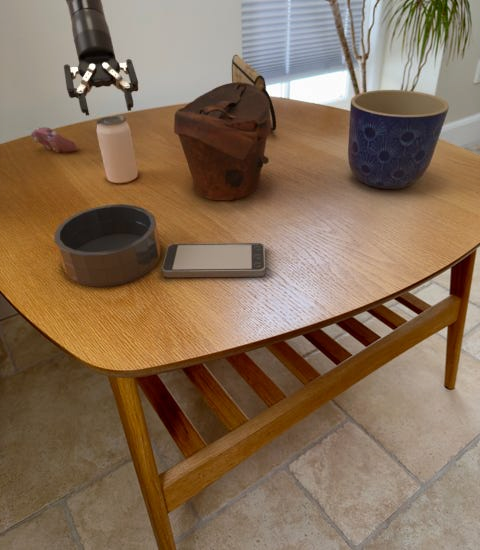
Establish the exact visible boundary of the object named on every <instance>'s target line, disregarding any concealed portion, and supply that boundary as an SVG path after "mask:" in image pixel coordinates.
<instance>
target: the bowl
mask: <svg viewBox="0 0 480 550" xmlns="http://www.w3.org/2000/svg"><path fill="white" fill-rule="evenodd" d="M53 241H54V244H55V247H56V250H57V253H58V256H59V259H60V262H61V265H62V268H63V270H64V273H65V274H66V276H67V277H68V278H69V279H70V280H71V281H73V282H75V283H77V284H79V285H82V286H87V287H94V288H104V287H106V288H107V287H114V286H119V285H124V284H126V283H130V282H133V281H135V280H137V279H139V278H141V277H144V276H145V275H146V274H147V273H149V272H150V271H151V270H152V269H154V268H155V267H156V265H157V264H158V262H159V260H160V258H161V250H162V249H161V243H160V238H159V231H158V225H157V220H156V218H155V215H153V214H152V213H151V212H150V211H149V210H148V209H146V208H144V207H141V206H138V205H131V204H124V203H122V204H121V203H120V204H119V203H118V204H105V205H101V206H93V207H91V208H88V209H85V210H81V211H79V212H77V213H75V214H73V215H71V216H68V218H66V219H65V220H64V221H62V222H61V223H59V225H58V227H57V229H56V230H55V231H54V237H53Z"/></svg>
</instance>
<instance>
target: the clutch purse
mask: <svg viewBox="0 0 480 550" xmlns="http://www.w3.org/2000/svg"><path fill="white" fill-rule="evenodd" d="M236 82H242V83H248V84H251V85H253V86H255V87H257V88H259V89H260V90H261V91H263V92H264V94H265V95H266V96H267V98H268V100H269V103H270V117H271V131H276V130H277V118H276V111H275V108H274V104H273V101H272V98H271V96H270V94H269V93H268V90H267V84H266V80H265V78H264V77H263V76H262V74H260V73H259V72H257V70H255V69H254V68H253V67H252V66H251V65H250V64H248V63H247V62H246V61H245V60H243V59H242V58H241V57H240V56H239V55H238V54H234V55H233V57H232V60H231V83H236Z"/></svg>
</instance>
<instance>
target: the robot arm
mask: <svg viewBox="0 0 480 550" xmlns="http://www.w3.org/2000/svg"><path fill="white" fill-rule="evenodd" d="M65 1H66V4H67V8H68V12H69V18H70V21H71V22H70V23H71V30H72V31H71V32H72V37H73V42H74V46H75V50H76V51H75V52H76V55H77V60H78V65H77V66H70V65H69V64H67V63H66V64H64V65H63V71H64V79H65V85H66V91H67V94H68V97H69V98H70V99H74V98H76V99H78V103H79V109H80V111H81V113H82V114H85V116H90V112H89V106H88V102H87V95H88V93H90V92H91V91H92V89H93V87H94V88H97V89H98V88H101V87H111V85H113V86H114V87H115V88H116V89H117V90H120V91H122V93H123V96H124V101H125V105H126V109H127V112H131V111H132V109H133V108H134V100H133V95H132V93H133V92H138V91H139V79H138V76H137V74H136V70H135V67H134V64H133V60H132V59H130V58H127V59H126V60H125V62H120V63H119V62H118V60H117V59H116V54H115V49H114V45H113V41H112V36H111V32H110V28H109V25H108V23H107V19H106V16H105V11H104V6H103V3H102V0H65ZM121 71H123V73H124V74H125V75H128V78H129V82H127V80H125V78H123V77H122V75H121V74H120V72H121ZM78 75H79V76H80V77H81V80H80V83H79V85H78V86H77V88H76V87H75V85H74V80H76V79H77V76H78Z"/></svg>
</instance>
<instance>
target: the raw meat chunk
mask: <svg viewBox="0 0 480 550" xmlns="http://www.w3.org/2000/svg"><path fill="white" fill-rule="evenodd" d="M30 135H31V137H32V139H33V141H34V142H35V143H39V144H41V145H42V146H44V148H46V150H49V151H52V150H53V152H56V153H61V151H62V150H63V151H64V152H65V151H66V152H75V151H76V150H77V145H76V143H75V142H74V141H73V140H70V139H68V138H66V137H64V136H63V135H62V134H60V133H59V132H57V131H55V130H53V129H51V128H50V127H45V126H43V127H40V126H38V127H37V128H35V129H34V130H33V131H32V132H31V133H30Z"/></svg>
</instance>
